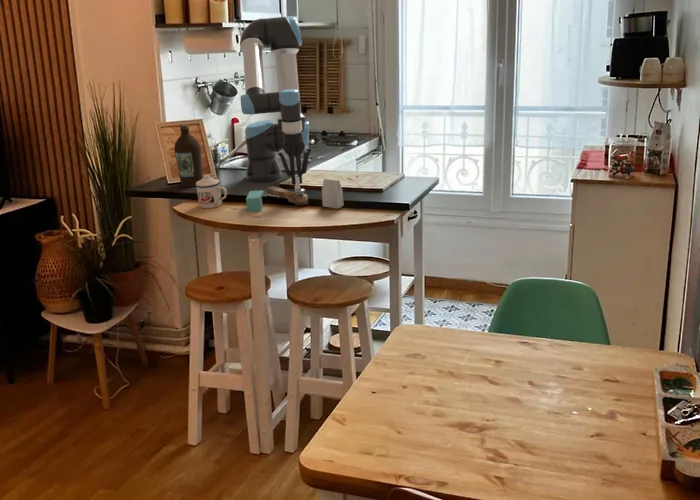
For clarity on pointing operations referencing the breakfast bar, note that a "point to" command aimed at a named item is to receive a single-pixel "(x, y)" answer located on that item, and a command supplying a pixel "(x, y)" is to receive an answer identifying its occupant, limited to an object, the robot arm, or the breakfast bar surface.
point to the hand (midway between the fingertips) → (297, 192)
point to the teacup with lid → (209, 192)
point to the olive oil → (188, 158)
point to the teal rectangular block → (254, 201)
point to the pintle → (300, 191)
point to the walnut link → (288, 195)
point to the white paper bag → (332, 194)
